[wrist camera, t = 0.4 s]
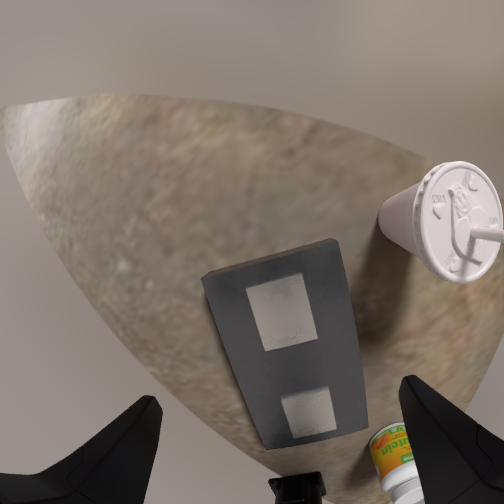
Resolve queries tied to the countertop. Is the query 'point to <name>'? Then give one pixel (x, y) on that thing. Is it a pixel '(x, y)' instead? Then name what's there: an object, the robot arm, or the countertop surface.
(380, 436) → the supplement bottle
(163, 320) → the countertop surface
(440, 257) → the smoothie
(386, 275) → the countertop surface
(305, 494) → the robot arm
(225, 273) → the label box
